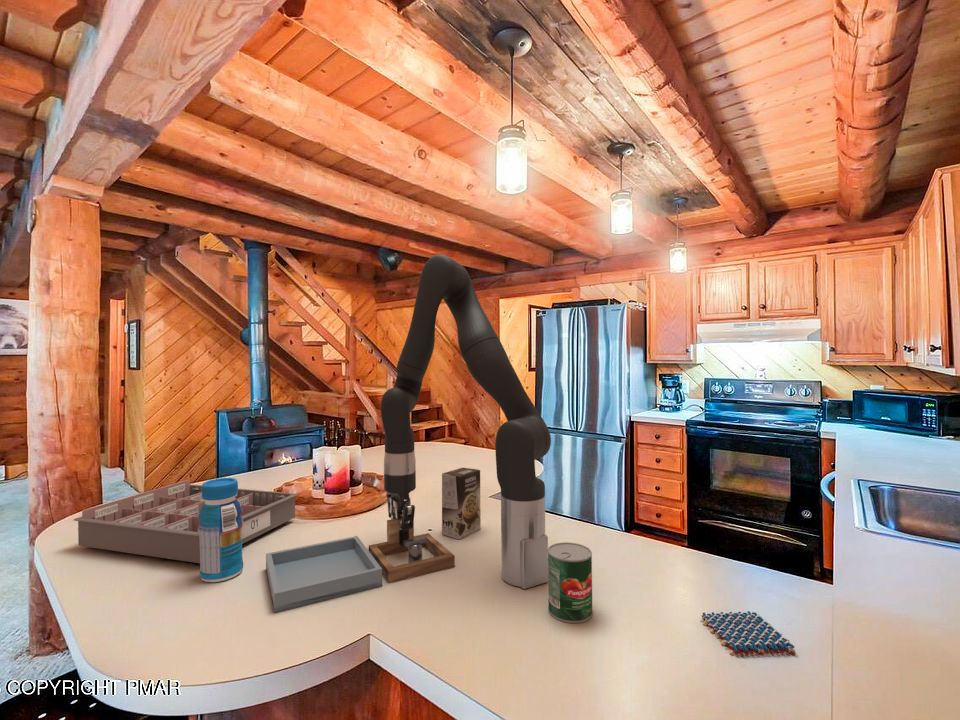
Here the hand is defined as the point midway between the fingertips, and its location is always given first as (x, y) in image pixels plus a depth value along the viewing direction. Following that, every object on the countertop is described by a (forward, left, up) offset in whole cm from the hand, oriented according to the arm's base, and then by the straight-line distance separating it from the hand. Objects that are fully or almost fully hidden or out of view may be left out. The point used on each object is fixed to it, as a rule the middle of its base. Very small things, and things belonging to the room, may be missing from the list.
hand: (400, 540), depth 111 cm
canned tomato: (-41, -18, -3) cm, 45 cm away
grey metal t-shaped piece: (-10, 0, -2) cm, 10 cm away
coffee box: (+3, -18, -3) cm, 18 cm away
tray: (-5, +19, -2) cm, 20 cm away
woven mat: (-61, -38, -3) cm, 72 cm away
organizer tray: (+37, +44, -3) cm, 57 cm away
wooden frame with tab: (-7, 0, -2) cm, 7 cm away
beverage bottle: (+7, +37, -2) cm, 38 cm away
